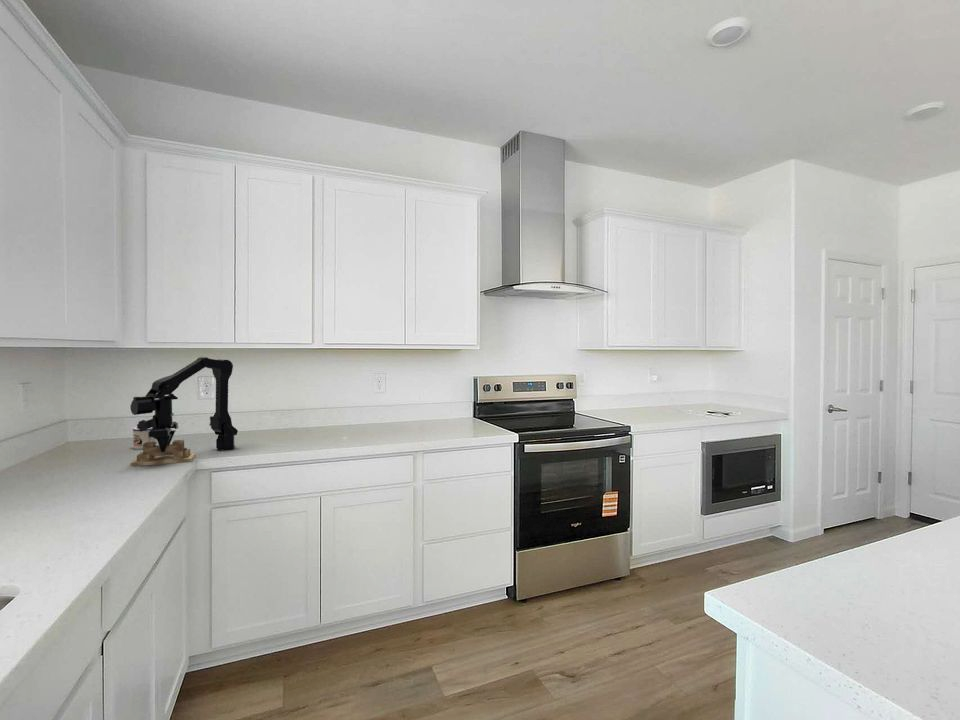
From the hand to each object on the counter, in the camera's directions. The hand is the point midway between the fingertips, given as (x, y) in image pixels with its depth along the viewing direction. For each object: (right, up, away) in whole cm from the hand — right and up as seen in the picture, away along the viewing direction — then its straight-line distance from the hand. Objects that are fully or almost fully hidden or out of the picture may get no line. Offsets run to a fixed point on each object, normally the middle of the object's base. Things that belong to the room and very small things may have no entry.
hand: (164, 450), depth 185 cm
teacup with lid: (-24, -4, +23) cm, 33 cm away
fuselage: (0, -2, 0) cm, 2 cm away
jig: (0, -4, 0) cm, 4 cm away
